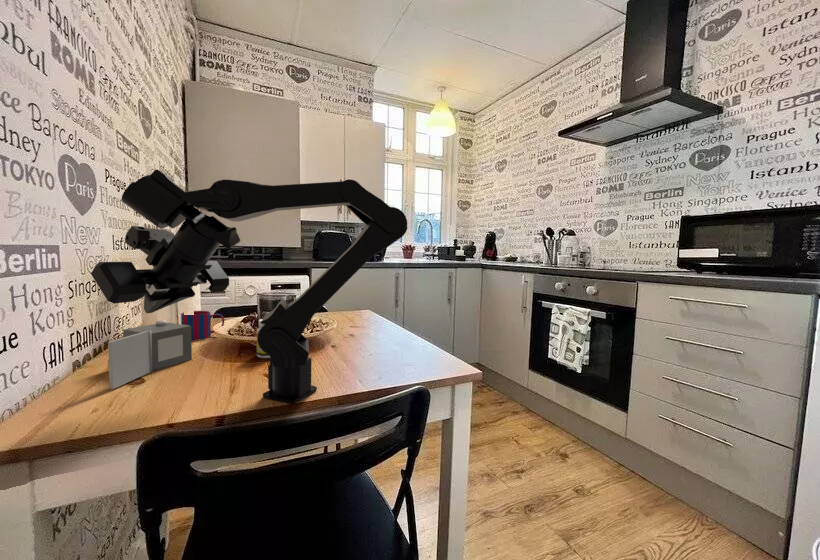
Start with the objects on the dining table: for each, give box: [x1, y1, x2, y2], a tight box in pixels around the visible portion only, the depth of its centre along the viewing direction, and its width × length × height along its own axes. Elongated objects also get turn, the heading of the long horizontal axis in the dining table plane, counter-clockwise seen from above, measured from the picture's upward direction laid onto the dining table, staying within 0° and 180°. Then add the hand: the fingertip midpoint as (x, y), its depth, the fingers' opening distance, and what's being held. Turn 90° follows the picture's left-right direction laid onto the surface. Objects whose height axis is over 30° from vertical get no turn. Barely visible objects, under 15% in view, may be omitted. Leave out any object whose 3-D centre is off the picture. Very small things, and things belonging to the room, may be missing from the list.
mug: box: [180, 310, 225, 341], centre depth 93 cm, size 7×10×7 cm
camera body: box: [122, 319, 193, 372], centre depth 71 cm, size 8×9×8 cm
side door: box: [107, 330, 153, 390], centre depth 61 cm, size 9×1×8 cm, turn 179°
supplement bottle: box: [256, 318, 270, 359], centre depth 79 cm, size 5×5×8 cm
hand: (147, 311), depth 58 cm, fingers closed
